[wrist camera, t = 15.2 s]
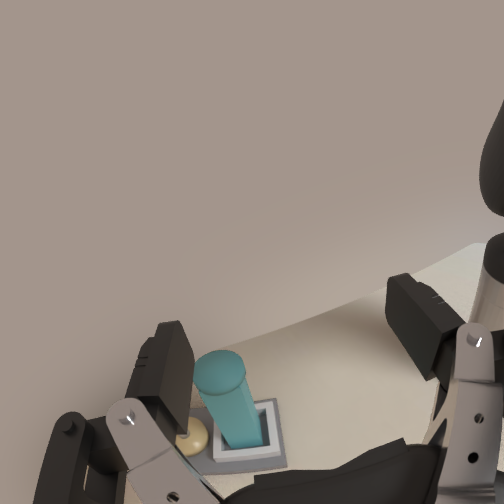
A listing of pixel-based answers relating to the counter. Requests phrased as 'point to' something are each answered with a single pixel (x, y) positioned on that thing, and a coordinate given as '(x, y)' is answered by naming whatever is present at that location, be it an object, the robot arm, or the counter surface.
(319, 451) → the counter surface
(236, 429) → the lidded tumbler
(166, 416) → the robot arm
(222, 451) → the housing
